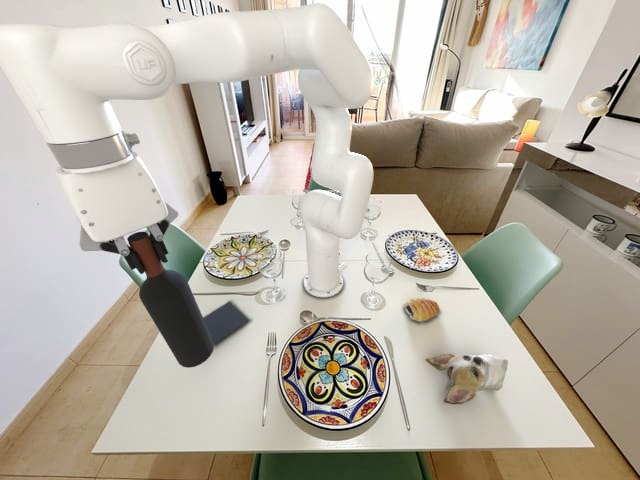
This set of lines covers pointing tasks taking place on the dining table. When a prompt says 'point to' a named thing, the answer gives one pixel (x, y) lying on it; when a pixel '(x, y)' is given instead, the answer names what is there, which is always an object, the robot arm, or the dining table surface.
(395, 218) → the dining table surface
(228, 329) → the mat
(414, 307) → the pastry
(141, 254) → the wine bottle
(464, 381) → the ceramic sculpture
